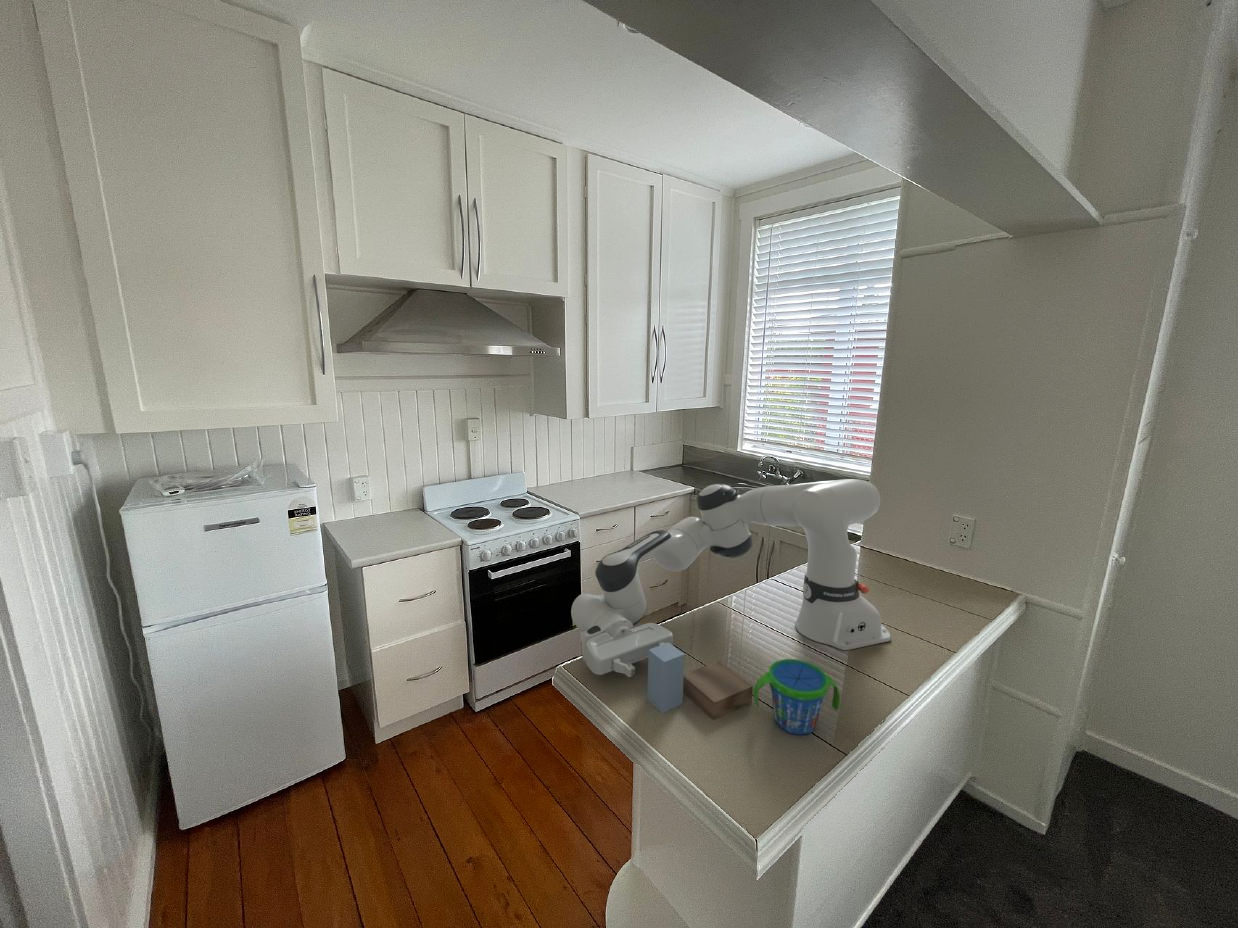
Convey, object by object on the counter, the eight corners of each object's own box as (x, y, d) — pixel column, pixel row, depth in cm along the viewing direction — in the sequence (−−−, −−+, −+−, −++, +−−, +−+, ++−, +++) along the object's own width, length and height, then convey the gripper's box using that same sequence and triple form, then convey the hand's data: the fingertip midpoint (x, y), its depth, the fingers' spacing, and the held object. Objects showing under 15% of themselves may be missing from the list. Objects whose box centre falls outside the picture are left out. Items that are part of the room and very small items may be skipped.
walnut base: (717, 677, 110) (718, 660, 109) (751, 703, 102) (752, 686, 101) (681, 692, 105) (681, 674, 104) (713, 720, 96) (714, 702, 96)
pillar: (666, 690, 105) (668, 642, 103) (682, 704, 101) (684, 654, 98) (647, 698, 102) (648, 649, 100) (662, 713, 98) (664, 662, 96)
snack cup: (755, 737, 92) (758, 687, 90) (748, 700, 102) (752, 654, 100) (845, 748, 90) (851, 697, 88) (830, 708, 100) (834, 662, 98)
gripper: (651, 635, 121) (689, 663, 110) (575, 661, 110) (609, 696, 99) (652, 610, 120) (690, 637, 108) (575, 634, 109) (610, 667, 97)
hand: (651, 665), depth 103 cm, fingers open, 8 cm apart
